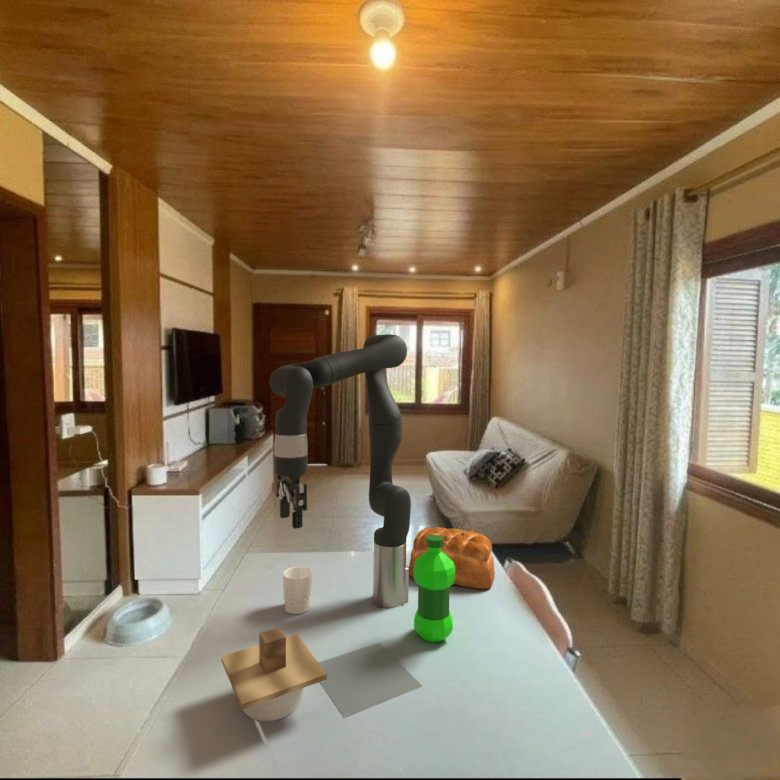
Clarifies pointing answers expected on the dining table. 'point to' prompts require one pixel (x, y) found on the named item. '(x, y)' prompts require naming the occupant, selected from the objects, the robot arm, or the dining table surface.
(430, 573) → the plastic bottle
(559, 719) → the dining table surface
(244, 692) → the oak lid
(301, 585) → the white cup
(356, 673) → the grey mat
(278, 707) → the ramekin
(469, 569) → the bread
